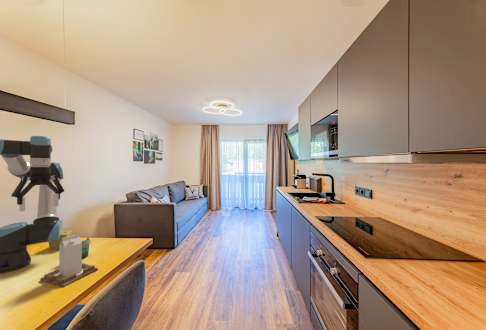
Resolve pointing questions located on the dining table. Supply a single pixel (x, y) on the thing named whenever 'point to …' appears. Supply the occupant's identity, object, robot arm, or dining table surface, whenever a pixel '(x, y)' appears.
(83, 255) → the food container
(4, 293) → the dining table surface
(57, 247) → the cheese
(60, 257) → the milk carton
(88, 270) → the brown picture frame
